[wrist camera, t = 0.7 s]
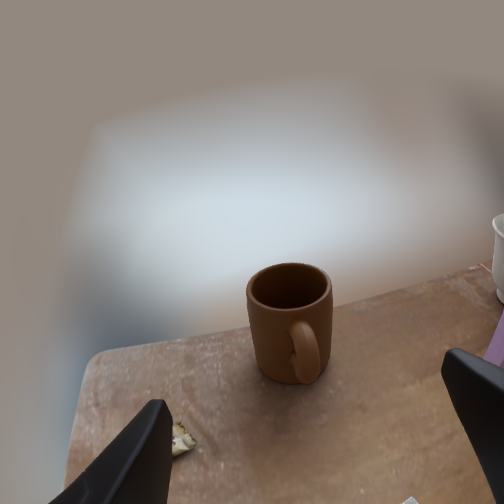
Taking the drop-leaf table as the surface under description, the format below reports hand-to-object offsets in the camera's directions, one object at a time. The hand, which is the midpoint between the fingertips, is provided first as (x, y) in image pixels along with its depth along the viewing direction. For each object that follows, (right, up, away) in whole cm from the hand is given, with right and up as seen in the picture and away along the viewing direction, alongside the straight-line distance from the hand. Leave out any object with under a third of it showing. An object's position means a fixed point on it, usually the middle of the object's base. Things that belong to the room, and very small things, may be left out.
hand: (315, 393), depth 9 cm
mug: (+3, -8, +21) cm, 23 cm away
